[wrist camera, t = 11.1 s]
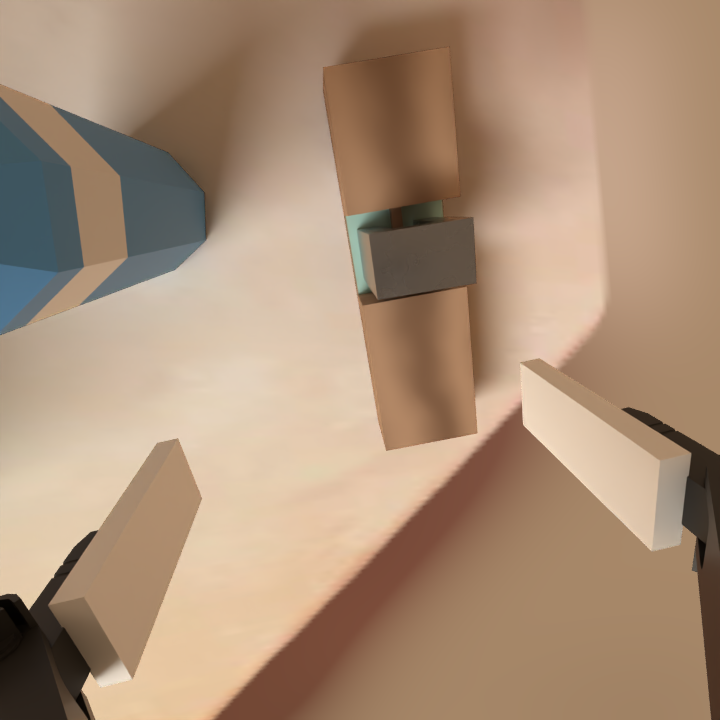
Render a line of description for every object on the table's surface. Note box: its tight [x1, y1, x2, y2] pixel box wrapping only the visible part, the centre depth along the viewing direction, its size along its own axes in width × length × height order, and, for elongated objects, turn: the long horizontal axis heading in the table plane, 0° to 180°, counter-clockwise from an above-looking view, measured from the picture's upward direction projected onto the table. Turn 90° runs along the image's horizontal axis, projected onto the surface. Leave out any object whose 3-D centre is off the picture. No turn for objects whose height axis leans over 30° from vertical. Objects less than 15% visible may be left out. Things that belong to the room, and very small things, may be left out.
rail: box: [323, 47, 477, 451], centre depth 32 cm, size 8×28×5 cm, turn 9°
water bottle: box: [0, 84, 206, 335], centre depth 20 cm, size 9×9×25 cm
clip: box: [357, 217, 476, 300], centre depth 29 cm, size 6×4×9 cm, turn 99°
